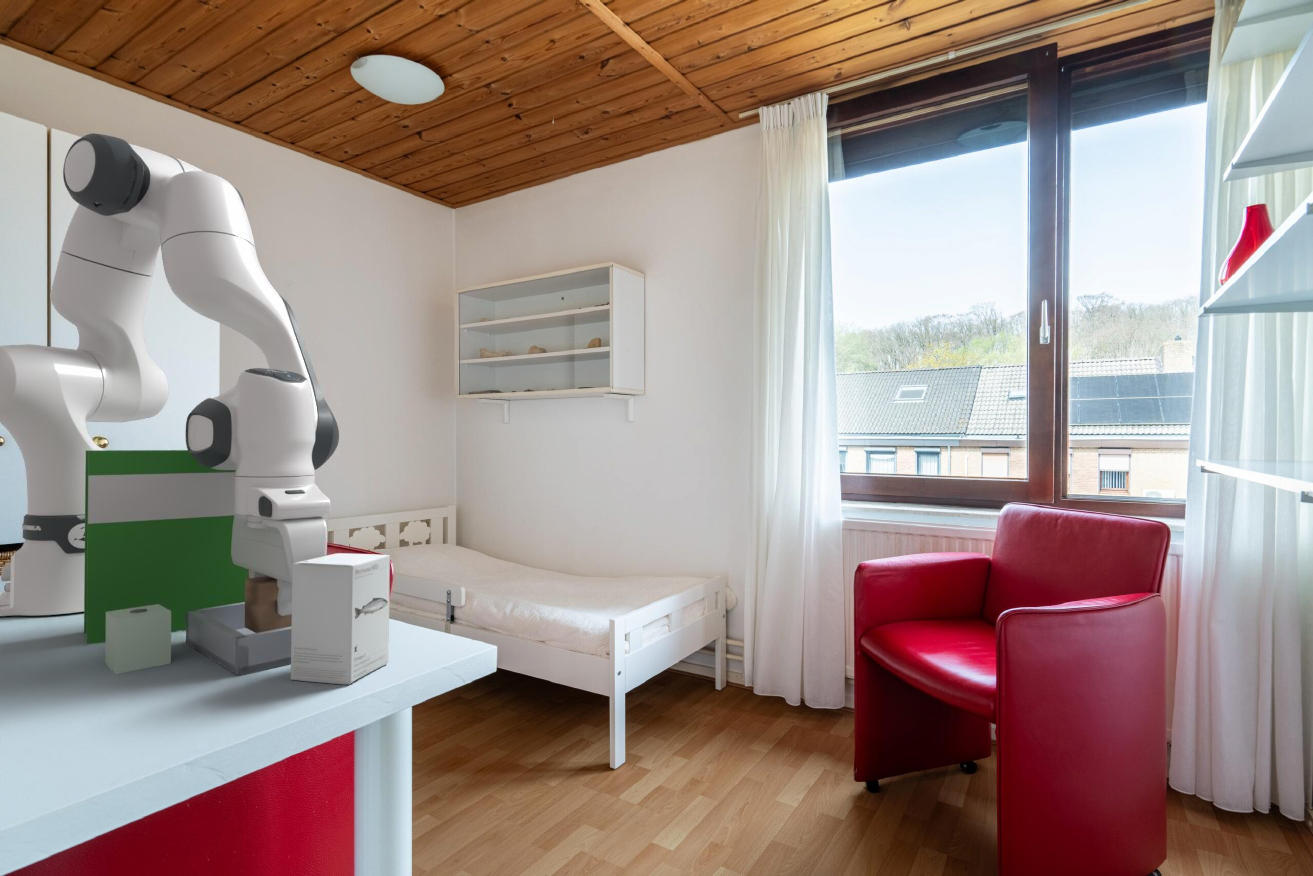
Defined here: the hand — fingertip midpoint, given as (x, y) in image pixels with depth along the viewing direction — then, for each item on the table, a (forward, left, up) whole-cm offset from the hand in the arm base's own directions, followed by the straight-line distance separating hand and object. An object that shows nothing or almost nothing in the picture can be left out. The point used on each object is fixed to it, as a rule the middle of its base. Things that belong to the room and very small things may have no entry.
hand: (274, 609), depth 86 cm
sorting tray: (0, 0, -4) cm, 4 cm away
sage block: (-4, -13, -4) cm, 14 cm away
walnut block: (0, 0, -2) cm, 2 cm away
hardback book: (-20, -6, -5) cm, 21 cm away
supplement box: (+16, +1, -5) cm, 17 cm away
